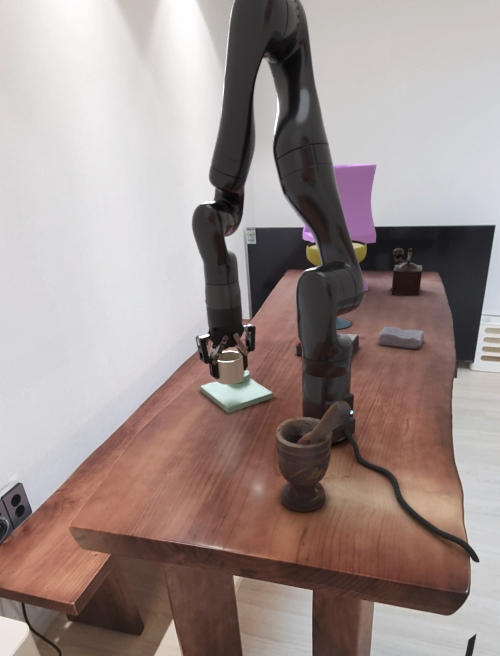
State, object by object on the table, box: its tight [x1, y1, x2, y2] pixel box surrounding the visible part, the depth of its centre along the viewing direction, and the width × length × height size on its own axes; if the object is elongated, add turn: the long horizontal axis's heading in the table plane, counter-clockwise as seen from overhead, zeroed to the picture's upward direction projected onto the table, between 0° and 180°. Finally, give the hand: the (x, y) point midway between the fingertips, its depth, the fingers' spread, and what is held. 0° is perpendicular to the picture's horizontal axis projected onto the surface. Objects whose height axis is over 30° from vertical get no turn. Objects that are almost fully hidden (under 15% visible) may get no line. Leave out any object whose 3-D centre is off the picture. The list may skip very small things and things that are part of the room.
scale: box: [199, 369, 274, 414], centre depth 111 cm, size 14×12×3 cm
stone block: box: [378, 325, 425, 350], centre depth 134 cm, size 12×5×10 cm
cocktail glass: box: [305, 240, 368, 330], centre depth 147 cm, size 18×18×25 cm
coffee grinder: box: [389, 247, 423, 297], centre depth 175 cm, size 16×11×18 cm
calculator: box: [295, 333, 360, 357], centre depth 131 cm, size 11×4×15 cm
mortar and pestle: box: [275, 401, 351, 513], centre depth 71 cm, size 12×9×20 cm
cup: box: [215, 350, 244, 385], centre depth 106 cm, size 6×6×6 cm
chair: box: [302, 163, 377, 292], centre depth 183 cm, size 22×22×45 cm
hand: (229, 373), depth 106 cm, fingers closed on cup, 6 cm apart
